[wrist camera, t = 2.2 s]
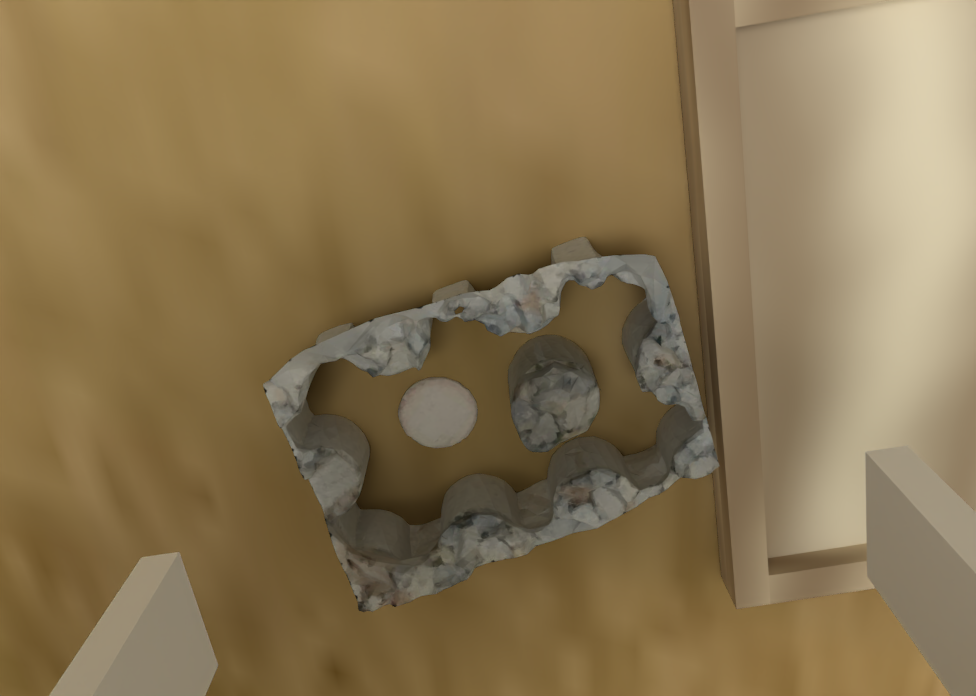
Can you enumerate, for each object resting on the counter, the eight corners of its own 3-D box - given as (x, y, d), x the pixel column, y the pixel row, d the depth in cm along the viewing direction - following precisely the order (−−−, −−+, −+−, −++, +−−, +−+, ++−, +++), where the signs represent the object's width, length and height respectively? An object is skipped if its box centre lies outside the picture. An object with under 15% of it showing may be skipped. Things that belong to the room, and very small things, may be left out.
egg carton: (362, 541, 26) (343, 629, 22) (269, 320, 23) (228, 377, 20) (702, 447, 25) (743, 523, 21) (642, 206, 22) (677, 242, 19)
